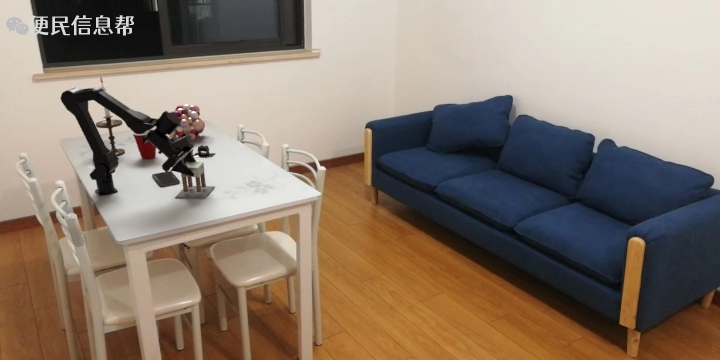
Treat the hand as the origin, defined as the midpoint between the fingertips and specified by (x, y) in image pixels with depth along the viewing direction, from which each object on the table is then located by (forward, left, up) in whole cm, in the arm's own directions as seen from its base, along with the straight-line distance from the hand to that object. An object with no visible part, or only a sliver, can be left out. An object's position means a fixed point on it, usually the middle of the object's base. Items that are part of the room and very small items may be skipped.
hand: (196, 172), depth 205 cm
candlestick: (-71, -9, -8) cm, 72 cm away
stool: (-1, -1, -7) cm, 7 cm away
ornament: (-73, +26, -8) cm, 78 cm away
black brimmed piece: (-42, +21, -9) cm, 48 cm away
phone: (-22, -4, -9) cm, 24 cm away
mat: (-1, -1, -8) cm, 8 cm away
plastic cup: (-55, +1, -8) cm, 56 cm away
